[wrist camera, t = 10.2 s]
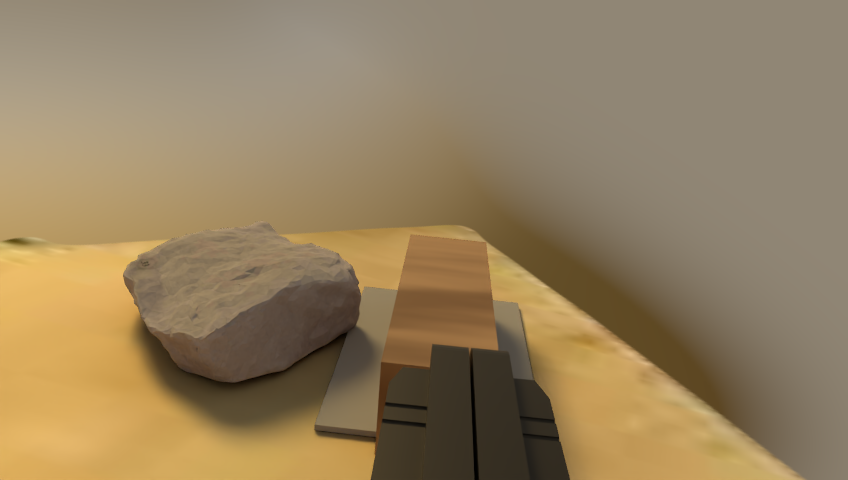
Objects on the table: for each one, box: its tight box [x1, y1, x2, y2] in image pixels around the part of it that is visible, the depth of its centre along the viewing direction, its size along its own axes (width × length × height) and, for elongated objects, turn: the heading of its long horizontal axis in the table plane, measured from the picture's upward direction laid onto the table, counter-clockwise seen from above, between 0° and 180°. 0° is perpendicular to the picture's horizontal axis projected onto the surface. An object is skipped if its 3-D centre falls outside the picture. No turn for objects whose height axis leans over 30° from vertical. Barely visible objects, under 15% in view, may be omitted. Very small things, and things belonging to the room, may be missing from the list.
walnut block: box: [375, 235, 498, 455], centre depth 27 cm, size 4×4×13 cm
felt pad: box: [315, 287, 533, 437], centre depth 29 cm, size 13×10×1 cm
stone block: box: [123, 221, 361, 382], centre depth 30 cm, size 12×5×10 cm
